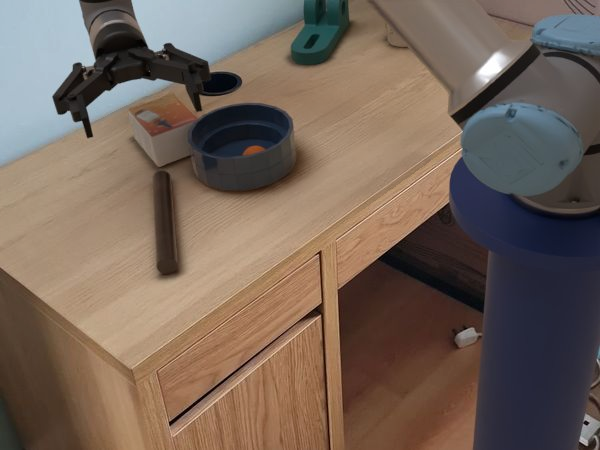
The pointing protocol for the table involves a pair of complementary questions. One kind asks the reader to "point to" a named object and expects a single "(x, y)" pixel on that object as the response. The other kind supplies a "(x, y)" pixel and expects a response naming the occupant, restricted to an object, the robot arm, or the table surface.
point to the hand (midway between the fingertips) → (143, 115)
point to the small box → (162, 128)
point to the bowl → (242, 146)
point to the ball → (253, 150)
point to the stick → (164, 223)
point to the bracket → (320, 30)
